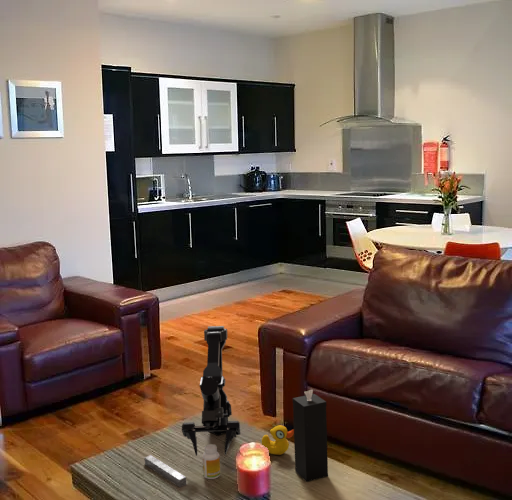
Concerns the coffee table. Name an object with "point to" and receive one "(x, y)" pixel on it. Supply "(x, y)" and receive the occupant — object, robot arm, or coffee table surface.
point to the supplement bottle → (211, 462)
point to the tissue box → (310, 436)
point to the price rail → (165, 471)
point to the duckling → (277, 440)
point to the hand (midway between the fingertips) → (210, 454)
